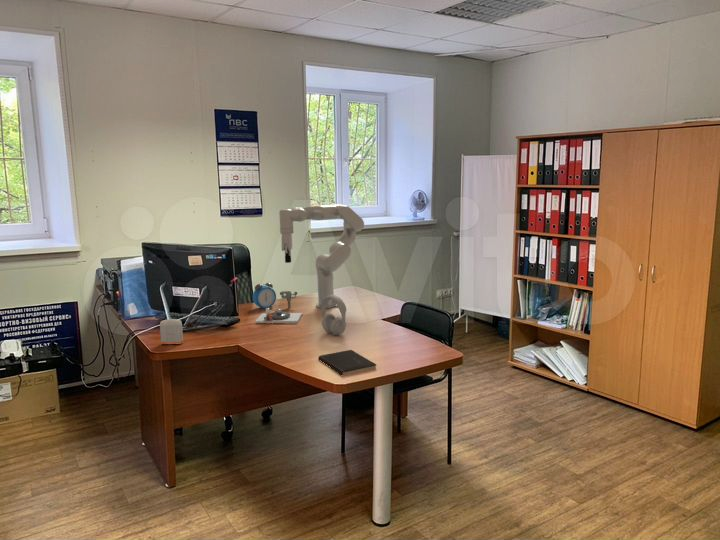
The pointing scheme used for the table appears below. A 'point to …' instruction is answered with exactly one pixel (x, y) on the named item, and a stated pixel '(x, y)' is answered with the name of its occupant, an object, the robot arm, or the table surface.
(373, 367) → the hardcover book
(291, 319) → the base plate
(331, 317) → the headphones
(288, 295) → the mechanical component
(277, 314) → the flange
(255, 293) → the alarm clock
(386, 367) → the table surface
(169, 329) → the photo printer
